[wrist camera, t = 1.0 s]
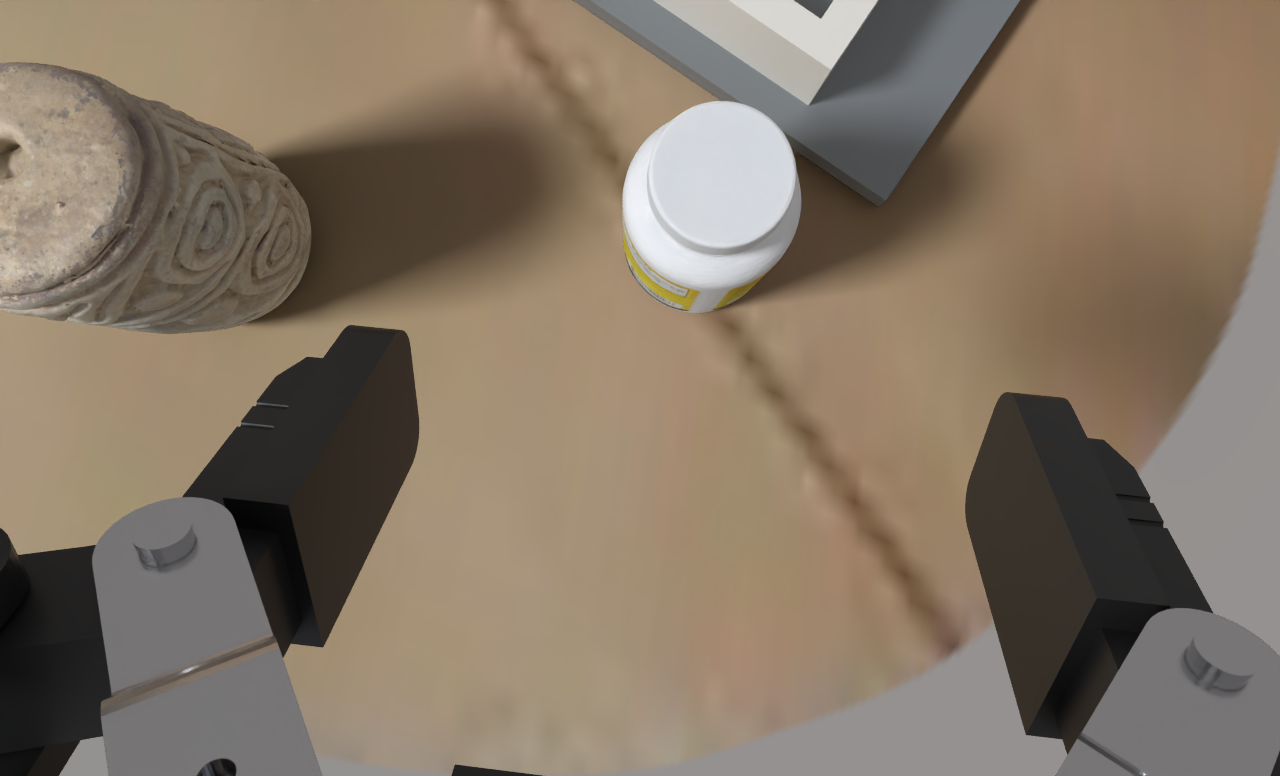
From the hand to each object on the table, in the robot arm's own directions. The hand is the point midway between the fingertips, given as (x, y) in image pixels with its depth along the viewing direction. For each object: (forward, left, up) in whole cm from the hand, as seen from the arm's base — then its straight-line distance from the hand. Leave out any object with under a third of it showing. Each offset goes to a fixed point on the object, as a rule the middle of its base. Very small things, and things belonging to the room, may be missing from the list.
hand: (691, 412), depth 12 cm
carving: (-16, -4, -21) cm, 27 cm away
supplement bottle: (-2, +6, -21) cm, 22 cm away
